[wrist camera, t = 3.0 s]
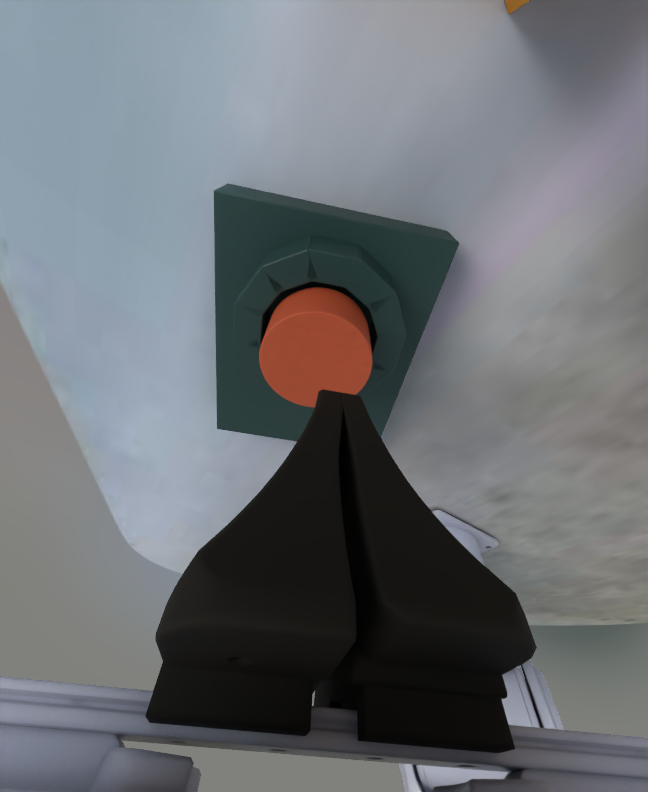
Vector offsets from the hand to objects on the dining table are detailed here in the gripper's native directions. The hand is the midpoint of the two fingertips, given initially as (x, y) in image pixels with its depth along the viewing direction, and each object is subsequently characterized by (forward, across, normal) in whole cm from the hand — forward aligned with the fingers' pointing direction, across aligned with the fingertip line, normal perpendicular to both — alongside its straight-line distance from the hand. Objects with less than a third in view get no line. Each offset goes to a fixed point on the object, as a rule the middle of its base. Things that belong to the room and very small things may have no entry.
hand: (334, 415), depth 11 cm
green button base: (+9, +1, +2) cm, 9 cm away
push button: (+5, +1, 0) cm, 5 cm away
